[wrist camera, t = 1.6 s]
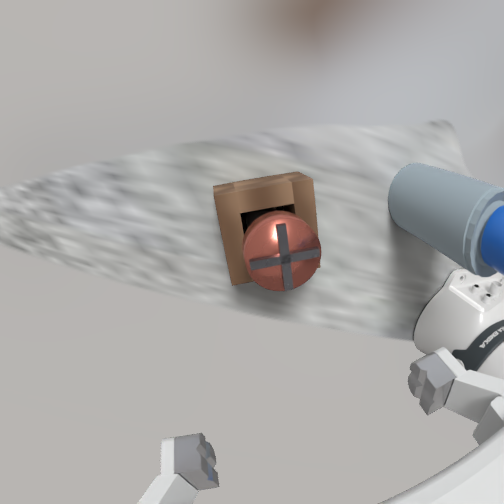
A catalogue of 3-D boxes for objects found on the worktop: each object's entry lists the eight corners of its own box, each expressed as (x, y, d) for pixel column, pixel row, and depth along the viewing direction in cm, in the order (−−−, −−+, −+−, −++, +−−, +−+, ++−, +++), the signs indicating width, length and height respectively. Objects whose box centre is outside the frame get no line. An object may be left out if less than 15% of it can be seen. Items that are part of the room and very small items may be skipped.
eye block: (297, 171, 32) (312, 178, 27) (306, 249, 35) (320, 267, 30) (213, 186, 31) (213, 195, 26) (228, 264, 35) (232, 285, 30)
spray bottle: (442, 163, 33) (606, 225, 10) (437, 227, 37) (577, 320, 14) (389, 162, 32) (579, 233, 9) (385, 233, 36) (537, 353, 13)
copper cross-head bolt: (286, 187, 32) (320, 214, 22) (292, 239, 34) (325, 285, 24) (230, 197, 32) (239, 229, 22) (239, 249, 34) (252, 300, 24)
